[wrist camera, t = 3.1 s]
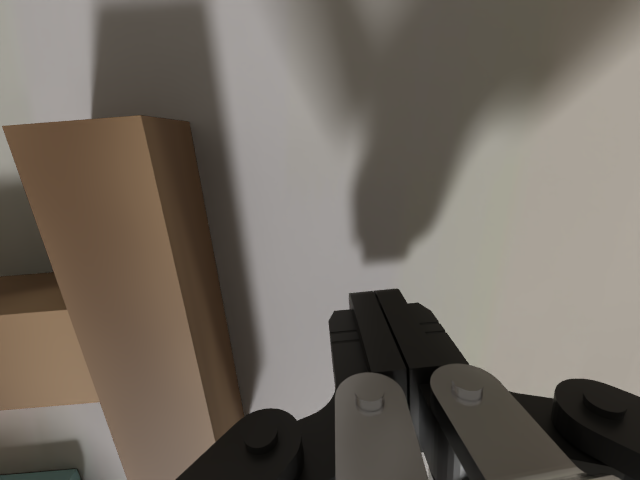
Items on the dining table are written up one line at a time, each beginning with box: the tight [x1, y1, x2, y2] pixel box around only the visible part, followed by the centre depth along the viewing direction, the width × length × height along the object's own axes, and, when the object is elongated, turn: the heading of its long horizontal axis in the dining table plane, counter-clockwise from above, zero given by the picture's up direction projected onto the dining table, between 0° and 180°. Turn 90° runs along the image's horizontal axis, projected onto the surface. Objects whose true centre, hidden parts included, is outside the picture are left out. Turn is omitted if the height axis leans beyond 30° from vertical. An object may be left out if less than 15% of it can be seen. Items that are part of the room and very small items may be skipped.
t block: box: [0, 115, 244, 480], centre depth 10 cm, size 11×12×3 cm
